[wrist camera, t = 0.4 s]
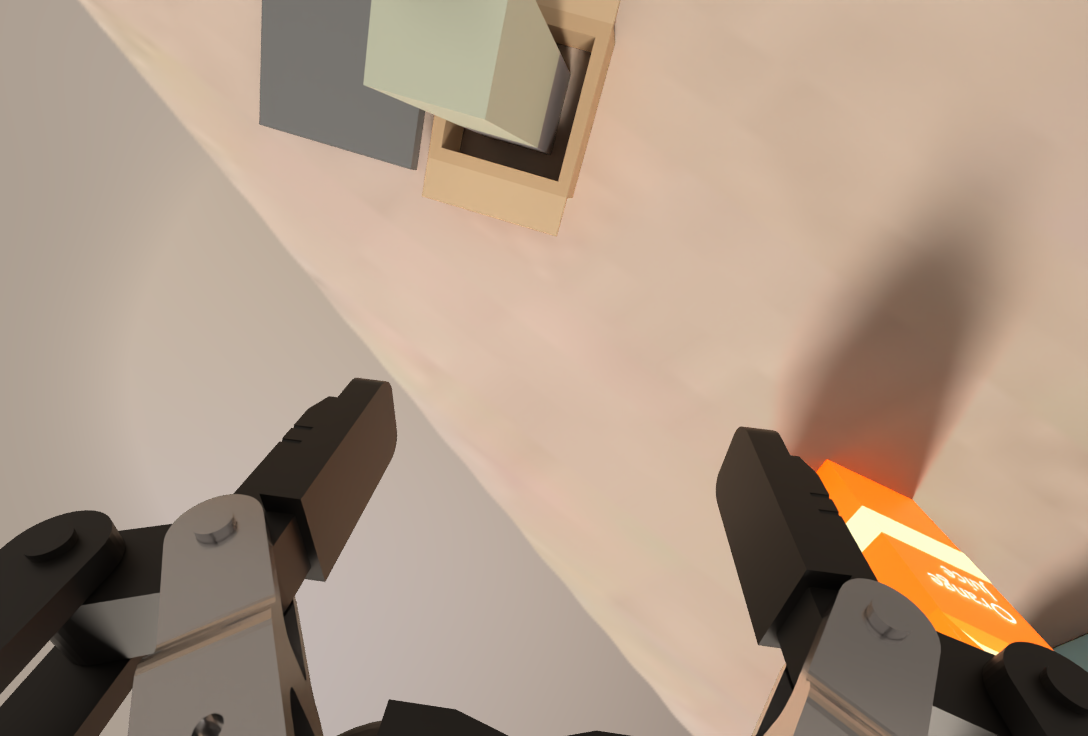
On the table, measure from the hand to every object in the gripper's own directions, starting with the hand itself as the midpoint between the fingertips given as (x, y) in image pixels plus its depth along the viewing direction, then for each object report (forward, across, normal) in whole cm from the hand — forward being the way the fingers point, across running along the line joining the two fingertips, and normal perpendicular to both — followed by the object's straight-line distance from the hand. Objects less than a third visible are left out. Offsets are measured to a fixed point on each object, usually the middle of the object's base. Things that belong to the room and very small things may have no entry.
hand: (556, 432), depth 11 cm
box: (+28, +5, -5) cm, 28 cm away
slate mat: (+29, +18, -7) cm, 35 cm away
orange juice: (+20, -24, +22) cm, 38 cm away
